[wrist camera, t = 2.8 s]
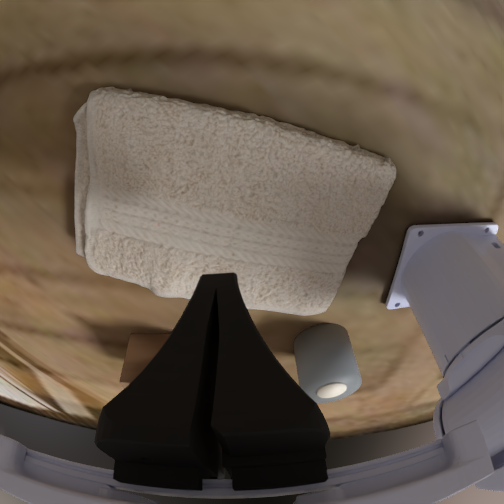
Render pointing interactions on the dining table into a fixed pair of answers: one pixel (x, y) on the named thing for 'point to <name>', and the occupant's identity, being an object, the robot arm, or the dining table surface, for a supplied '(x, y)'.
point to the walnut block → (140, 354)
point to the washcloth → (220, 199)
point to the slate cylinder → (326, 363)
